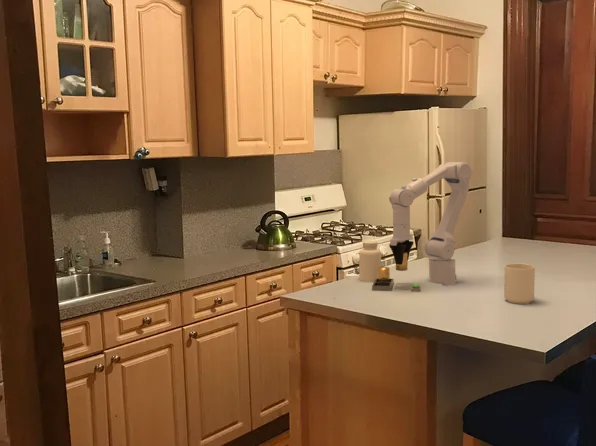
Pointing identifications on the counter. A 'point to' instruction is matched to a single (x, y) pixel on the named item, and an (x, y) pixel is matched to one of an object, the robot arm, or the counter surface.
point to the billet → (403, 264)
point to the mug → (519, 283)
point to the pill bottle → (369, 261)
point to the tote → (403, 283)
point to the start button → (415, 285)
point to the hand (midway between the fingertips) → (401, 263)
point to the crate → (382, 285)
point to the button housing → (415, 289)
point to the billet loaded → (383, 274)
